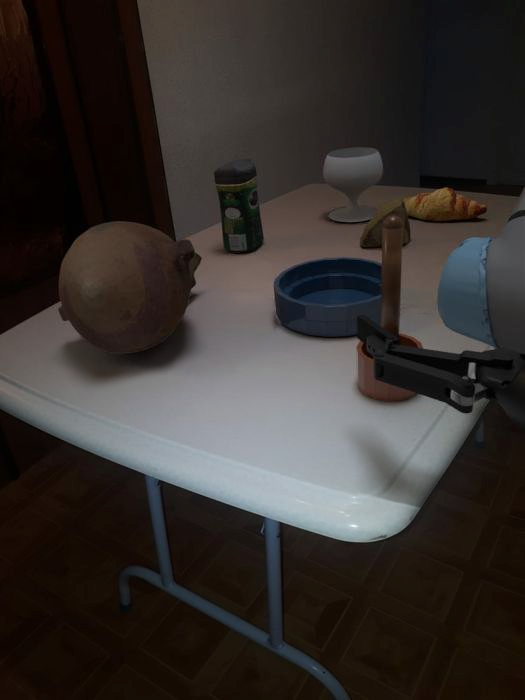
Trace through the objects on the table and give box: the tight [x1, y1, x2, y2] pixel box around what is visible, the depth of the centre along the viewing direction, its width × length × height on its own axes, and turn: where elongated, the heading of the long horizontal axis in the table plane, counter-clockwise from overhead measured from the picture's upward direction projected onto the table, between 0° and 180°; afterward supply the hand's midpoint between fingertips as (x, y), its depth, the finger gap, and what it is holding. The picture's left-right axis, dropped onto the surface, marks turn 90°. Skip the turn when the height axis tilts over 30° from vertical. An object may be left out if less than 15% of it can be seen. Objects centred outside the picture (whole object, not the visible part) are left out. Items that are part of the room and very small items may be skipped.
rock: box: [359, 198, 412, 248], centre depth 117 cm, size 11×9×10 cm
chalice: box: [322, 146, 384, 223], centre depth 133 cm, size 14×14×15 cm
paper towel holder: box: [381, 216, 403, 339], centre depth 66 cm, size 5×5×22 cm
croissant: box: [403, 186, 488, 222], centre depth 129 cm, size 21×10×8 cm, turn 58°
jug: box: [58, 220, 203, 354], centre depth 89 cm, size 20×20×30 cm
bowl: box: [273, 256, 382, 338], centre depth 90 cm, size 20×20×6 cm
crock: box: [355, 332, 425, 402], centre depth 70 cm, size 8×8×6 cm
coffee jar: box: [213, 158, 265, 254], centre depth 120 cm, size 10×8×19 cm
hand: (412, 310), depth 62 cm, fingers open, 13 cm apart
